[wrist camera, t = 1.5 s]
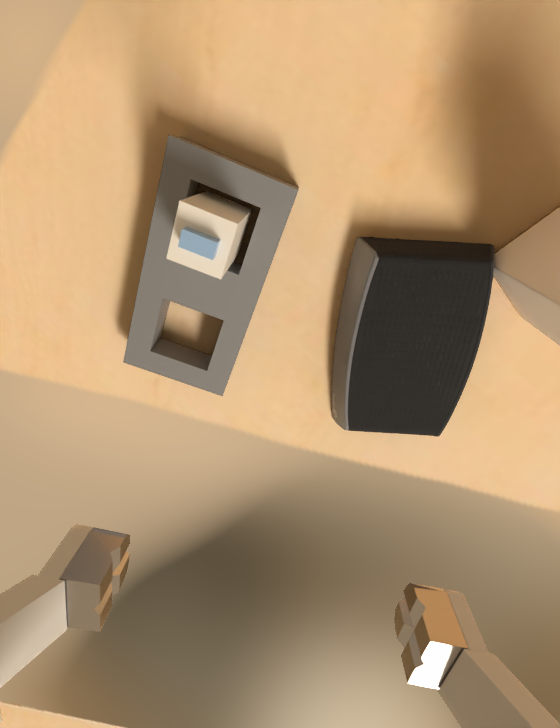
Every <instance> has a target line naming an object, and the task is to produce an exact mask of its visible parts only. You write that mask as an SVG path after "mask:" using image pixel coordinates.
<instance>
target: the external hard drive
mask: <svg viewBox="0 0 560 728" xmlns="http://www.w3.org/2000/svg"><path fill="white" fill-rule="evenodd" d="M494 258H495V251H494V246H493V245H490V244H474V243H457V242H442V241H421V240H404V239H403V240H402V239H386V238H374V237H357V239H356V242H355V245H354V249H353V252H352V256H351V260H350V264H349V269H348V273H347V277H346V282H345V287H344V291H343V296H342V302H341V307H340V313H339V319H338V325H337V331H336V339H335V348H334V358H333V370H332V391H331V405H332V418H333V419H334V420H335V422H336V423H337V424H338V425H339V426H340V427H341V428H343V429H344V430H349V431H364V432H382V433H399V434H416V435H430V436H440V434H441V433H442V431H443V430H444V428H445V426H446V425H447V423H448V421H449V419H450V417H451V415H452V413H453V411H454V409H455V407H456V405H457V403H458V401H459V399H460V396H461V394H462V392H463V389H464V387H465V385H466V382H467V380H468V377H469V374H470V372H471V369H472V366H473V363H474V360H475V357H476V354H477V351H478V347H479V344H480V340H481V336H482V332H483V328H484V324H485V320H486V315H487V310H488V305H489V299H490V294H491V287H492V280H493V272H494Z"/></svg>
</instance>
